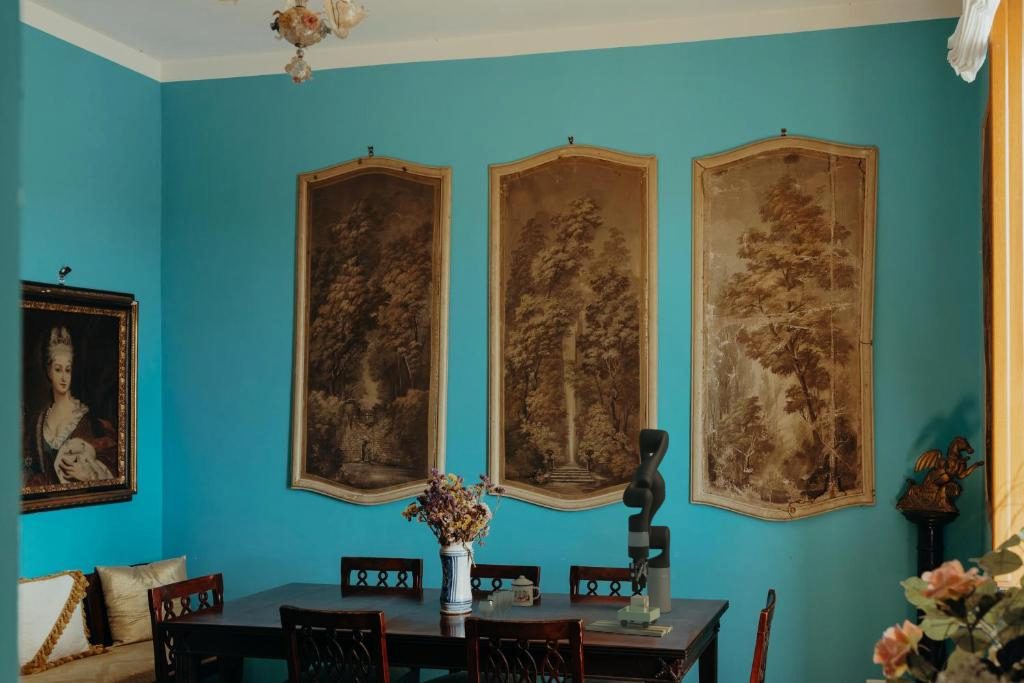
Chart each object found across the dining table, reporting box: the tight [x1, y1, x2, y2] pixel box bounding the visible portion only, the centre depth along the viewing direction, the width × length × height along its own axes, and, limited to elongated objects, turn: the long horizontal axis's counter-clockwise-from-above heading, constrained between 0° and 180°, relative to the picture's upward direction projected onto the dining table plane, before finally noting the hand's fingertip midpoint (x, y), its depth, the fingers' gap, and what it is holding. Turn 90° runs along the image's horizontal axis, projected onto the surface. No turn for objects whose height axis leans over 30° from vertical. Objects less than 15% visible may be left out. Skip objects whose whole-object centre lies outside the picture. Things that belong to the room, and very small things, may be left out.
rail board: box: [585, 619, 674, 637], centre depth 381 cm, size 14×28×2 cm, turn 64°
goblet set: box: [478, 588, 515, 620], centre depth 386 cm, size 28×6×13 cm, turn 161°
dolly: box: [617, 605, 661, 628], centre depth 380 cm, size 11×12×6 cm
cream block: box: [630, 594, 649, 613], centre depth 380 cm, size 5×5×6 cm
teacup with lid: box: [510, 575, 541, 607], centre depth 435 cm, size 12×9×12 cm
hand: (639, 589), depth 381 cm, fingers open, 8 cm apart
